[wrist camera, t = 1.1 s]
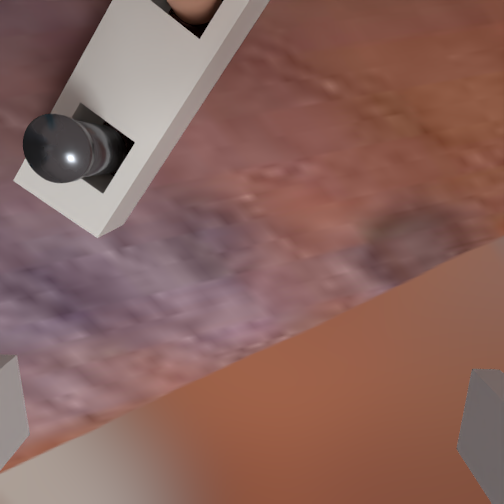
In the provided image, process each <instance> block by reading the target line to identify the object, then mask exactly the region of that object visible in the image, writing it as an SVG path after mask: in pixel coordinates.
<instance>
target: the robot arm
mask: <svg viewBox="0 0 504 504" xmlns="http://www.w3.org/2000/svg"><path fill="white" fill-rule="evenodd" d="M29 435H30V432H29V426H28V420H27V414H26V408H25V402H24V396H23V390H22V384H21V377H20V371H19V365H18V359H17V355H0V470H1V469H2V468H3V466H4V465H5V464H6V463H7V462H8V460H9V459H10V458H11V457H12V455H13V454H14V453H15V452H16V451H17V449H18V448H19V447H20V446H21V444H22V443H23V442H24V441H25V439H26V438H27V437H28V436H29ZM457 450H458V452H459V454H460V455H461V457H462V458H463V460H464V461H465V463H466V464H467V466H468V467H469V469H470V470H471V472H472V474H473V475H474V477H475V478H476V480H477V481H478V483H479V484H480V486H481V487H482V489H483V490H484V492H485V493H486V495H487V496H488V498H489V500H490V501H491V503H492V504H504V373H502V372H501V371H500V370H494V369H492V370H491V369H472V372H471V377H470V383H469V388H468V393H467V398H466V403H465V408H464V413H463V419H462V424H461V429H460V434H459V439H458V444H457Z"/></svg>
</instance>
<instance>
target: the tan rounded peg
mask: <svg viewBox="0 0 504 504" xmlns="http://www.w3.org/2000/svg"><path fill="white" fill-rule="evenodd" d="M167 2H168V3H169V5H170V6H171V8H172V9H173V11H174V12H175V14H176V15H177V16H178V17H179V18H180V19H181V20H182V21H184V22H186V23H188V24H191V25H201V24H204V23H207V22H208V21H210V20H211V19H212V18H213V17H214V15H215V13H216V12H217V10H218V9H219V7H220V4H221V0H167Z"/></svg>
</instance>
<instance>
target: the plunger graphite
mask: <svg viewBox="0 0 504 504" xmlns="http://www.w3.org/2000/svg"><path fill="white" fill-rule="evenodd" d="M23 150H24V155H25V157H26V160H27V162H28V164H29V165H30V167H31V168H32V169H33V170H34V172H36V173H37V174H38V175H39V176H40V177H42V178H43V179H45V180H48V181H50V182H54V183H68V182H73V181H77V180H79V179H81V178H83V177H88V176H95V175H102V174H108V173H112V172H114V171H116V170H118V169H119V168H120V166H121V164H122V163H123V161H124V160H125V157H126V146H125V143H124V140H123V138H122V137H121V135H120V134H119V133H118V132H117V131H116V130H115V129H113V128H111V127H109V126H106V125H101V124H95V123H89V122H82V121H77V120H75V119H73V118H71V117H68V116H64V115H58V114H45V115H42V116H39V117H37V118H36V119H34V120H33V121H32V122H31V123H30V124H29V126H28V127H27V129H26V131H25V134H24V138H23Z"/></svg>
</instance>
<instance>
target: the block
mask: <svg viewBox="0 0 504 504" xmlns="http://www.w3.org/2000/svg"><path fill="white" fill-rule="evenodd" d="M269 1H270V0H224V1H223V2H222V4H221V5H220V7H219V9H218V10H217V12H216V13H215V15H214V17H213V18H212V20H211V21H210V23H209V25H208V26H207V28H206V29H205V31H204V33H203V34H202V36H201V38H200V39H199V38H197V37H196V36H195V35H194V34H192V33H191V32H190V31H189V30H187V29H186V28H185V27H184V26H182V25H181V24H180V23H178V22H177V21H176V20H175V19H173V18H172V17H171V16H170V15H168V13H169V11H170V10H171V6H170V5H169V3H168V2H167V0H112V2H111V4H110V6H109V7H108V9H107V11H106V13H105V15H104V17H103V18H102V20H101V22H100V24H99V26H98V28H97V29H96V31H95V33H94V35H93V37H92V38H91V40H90V42H89V44H88V46H87V48H86V49H85V51H84V53H83V55H82V57H81V58H80V60H79V62H78V64H77V66H76V68H75V69H74V71H73V73H72V75H71V77H70V78H69V80H68V82H67V84H66V86H65V88H64V89H63V91H62V93H61V95H60V97H59V99H58V100H57V102H56V104H55V106H54V108H53V109H52V111H51V113H50V114H58V115H64V116H68V117H71V118H73V119H75V120H77V121H82V122H89V123H95V124H101V125H103V123H104V121H106V122H108V123H109V124H111V125H112V126H113V127H115V128H116V129H117V130H119V131H120V132H121V133H123V134H124V135H126V136H127V137H128V138H130V139H131V140H132V141H134V142H135V144H134V145H133V147H132V148H131V150H130V152H129V153H128V155H127V156H126V158H125V160H124V161H123V163H122V164H121V166H120V168H119V169H118V171H117V173H116V174H115V176H113V175H111V174H110V173H108V174H102V175H95V176H88V177H83V178H81V179H79V180H77V181H73V182H68V183H54V182H50V181H48V180H45V179H43V178H42V177H40V176H39V175H38V174H37V173H36V172H34V170H33V169H32V168H31V167H30V165H29V164H28V162H27V160H26V159H25V160H24V162H23V164H22V166H21V168H20V170H19V171H18V173H17V175H16V177H15V179H14V180H13V181H14V182H16V183H17V184H19V185H20V186H22V187H23V188H25V189H26V190H28V191H29V192H30V193H32V194H33V195H35V196H36V197H38V198H39V199H41V200H42V201H44V202H45V203H47V204H48V205H50V206H51V207H52V208H54V209H55V210H57V211H58V212H60V213H61V214H63V215H64V216H66V217H67V218H69V219H70V220H72V221H73V222H74V223H76V224H77V225H79V226H80V227H82V228H83V229H85V230H86V231H88V232H89V233H91V234H92V235H94V236H95V237H96V238H99V237H101V236H103V235H105V234H106V233H108V232H110V231H112V230H114V229H116V228H118V227H120V226H122V225H123V224H124V223H125V221H126V220H127V218H128V217H129V215H130V214H131V212H132V211H133V209H134V208H135V206H136V205H137V203H138V201H139V200H140V198H141V197H142V195H143V194H144V192H145V191H146V189H147V188H148V186H149V185H150V183H151V182H152V180H153V179H154V177H155V175H156V174H157V172H158V171H159V169H160V168H161V166H162V165H163V163H164V162H165V160H166V159H167V157H168V156H169V154H170V152H171V151H172V149H173V148H174V146H175V145H176V143H177V142H178V140H179V139H180V137H181V136H182V134H183V133H184V131H185V129H186V128H187V126H188V125H189V123H190V122H191V120H192V119H193V117H194V116H195V114H196V113H197V111H198V110H199V108H200V106H201V105H202V103H203V102H204V100H205V99H206V97H207V96H208V94H209V93H210V91H211V90H212V88H213V87H214V85H215V84H216V82H217V80H218V79H219V77H220V76H221V74H222V73H223V71H224V70H225V68H226V67H227V65H228V64H229V62H230V61H231V59H232V57H233V56H234V54H235V53H236V51H237V50H238V48H239V47H240V45H241V44H242V42H243V41H244V39H245V38H246V36H247V34H248V33H249V31H250V30H251V28H252V27H253V25H254V24H255V22H256V21H257V19H258V18H259V16H260V15H261V13H262V11H263V10H264V8H265V7H266V5H267V4H268V2H269Z"/></svg>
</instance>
